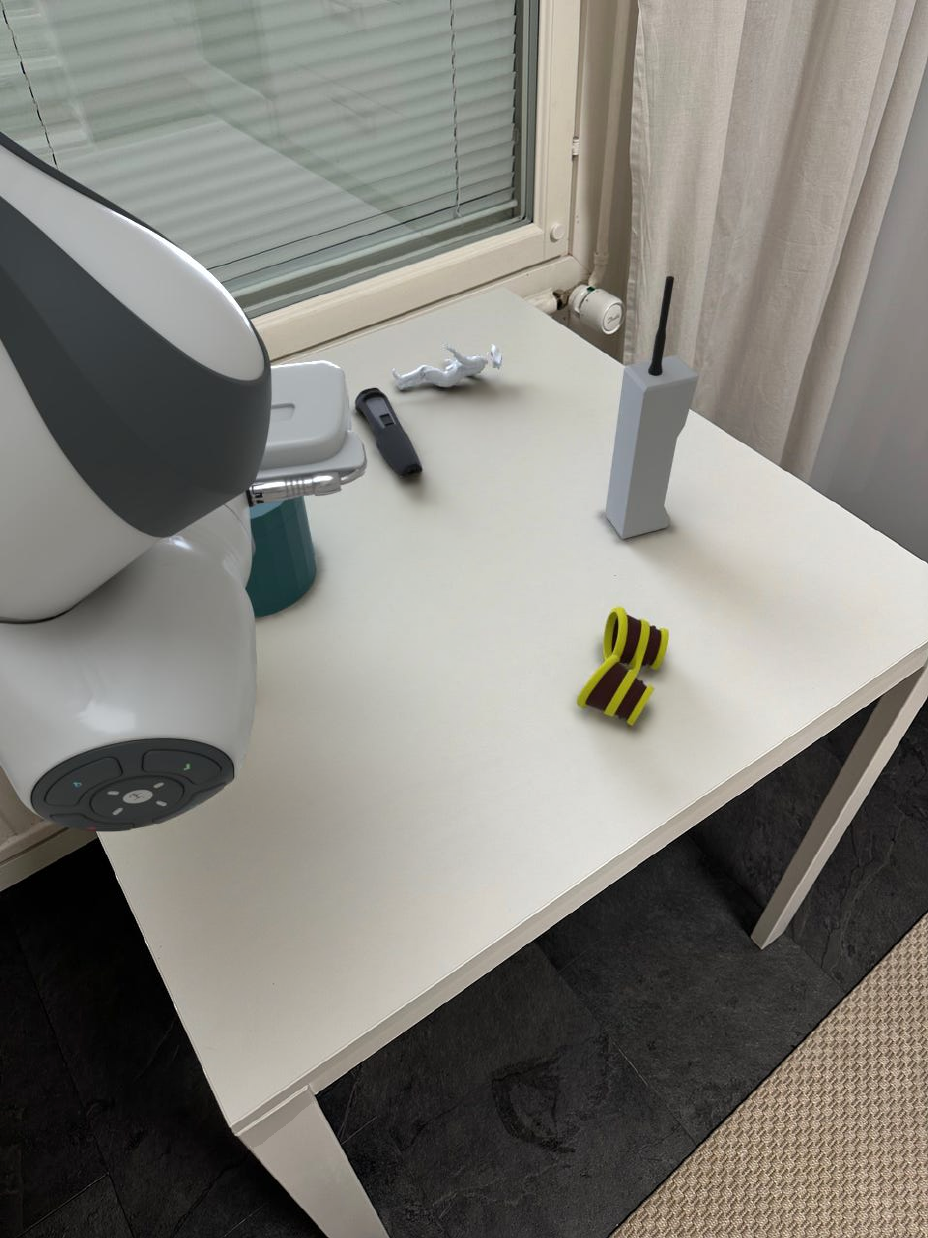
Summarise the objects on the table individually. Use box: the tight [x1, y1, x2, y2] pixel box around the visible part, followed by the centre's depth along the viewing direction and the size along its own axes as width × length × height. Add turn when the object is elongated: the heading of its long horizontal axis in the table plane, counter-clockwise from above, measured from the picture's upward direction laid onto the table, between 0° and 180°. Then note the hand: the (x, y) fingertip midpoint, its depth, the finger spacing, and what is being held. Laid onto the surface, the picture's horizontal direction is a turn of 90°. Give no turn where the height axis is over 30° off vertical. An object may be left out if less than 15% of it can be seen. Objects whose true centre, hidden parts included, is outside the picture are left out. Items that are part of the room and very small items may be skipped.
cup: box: [245, 496, 317, 618], centre depth 78 cm, size 11×11×11 cm
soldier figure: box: [392, 343, 503, 391], centre depth 101 cm, size 8×5×12 cm
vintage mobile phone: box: [604, 275, 699, 540], centre depth 77 cm, size 4×5×25 cm
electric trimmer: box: [354, 387, 423, 478], centre depth 94 cm, size 4×16×3 cm, turn 21°
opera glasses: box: [576, 606, 670, 727], centre depth 71 cm, size 10×5×5 cm, turn 159°
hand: (164, 359), depth 52 cm, fingers closed on brush, 2 cm apart
